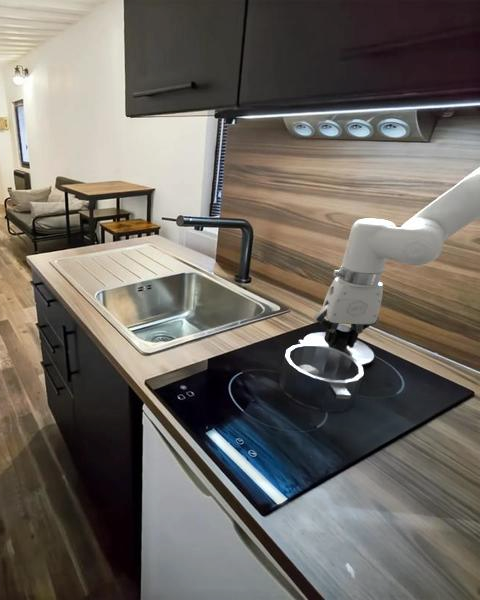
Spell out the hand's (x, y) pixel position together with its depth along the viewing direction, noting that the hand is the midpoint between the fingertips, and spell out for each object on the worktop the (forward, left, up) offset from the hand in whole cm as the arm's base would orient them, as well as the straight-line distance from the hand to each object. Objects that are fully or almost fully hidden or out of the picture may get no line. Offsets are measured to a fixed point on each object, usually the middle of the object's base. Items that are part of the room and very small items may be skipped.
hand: (338, 343), depth 90 cm
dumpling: (+12, +16, 0) cm, 19 cm away
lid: (0, 0, -2) cm, 2 cm away
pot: (+11, +16, -2) cm, 20 cm away
